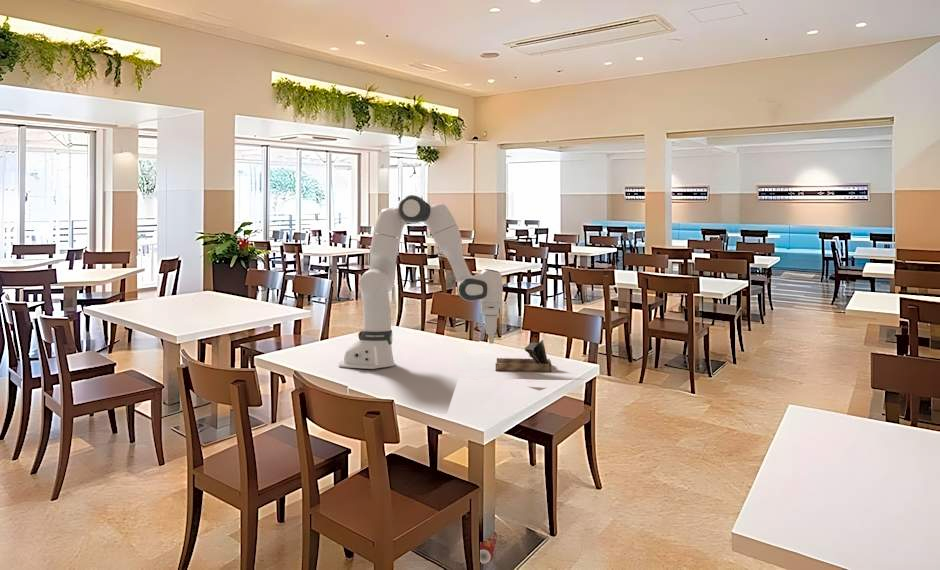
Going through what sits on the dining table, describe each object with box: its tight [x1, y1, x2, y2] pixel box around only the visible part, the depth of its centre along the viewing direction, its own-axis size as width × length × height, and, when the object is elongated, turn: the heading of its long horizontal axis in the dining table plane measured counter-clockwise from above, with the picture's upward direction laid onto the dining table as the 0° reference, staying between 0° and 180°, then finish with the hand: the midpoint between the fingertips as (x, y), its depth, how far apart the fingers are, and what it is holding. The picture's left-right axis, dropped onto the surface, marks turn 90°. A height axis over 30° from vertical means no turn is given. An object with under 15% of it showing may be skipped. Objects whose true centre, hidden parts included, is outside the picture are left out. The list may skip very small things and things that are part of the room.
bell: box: [524, 339, 548, 364], centre depth 252 cm, size 10×7×12 cm
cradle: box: [495, 357, 553, 373], centre depth 251 cm, size 22×14×3 cm, turn 86°
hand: (491, 343), depth 251 cm, fingers closed
